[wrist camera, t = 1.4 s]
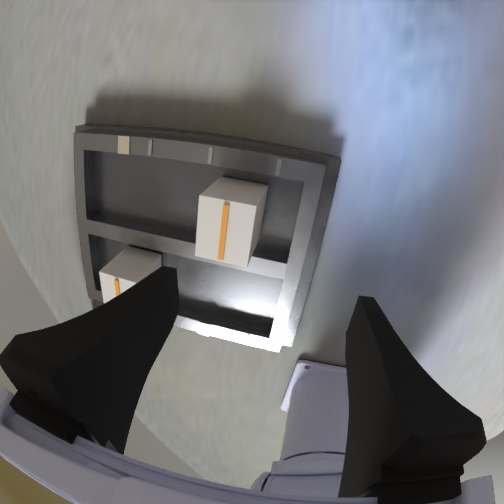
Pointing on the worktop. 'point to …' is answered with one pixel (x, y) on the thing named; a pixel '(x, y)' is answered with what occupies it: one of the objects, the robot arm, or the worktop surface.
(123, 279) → the rear fader knob
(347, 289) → the worktop surface
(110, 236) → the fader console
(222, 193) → the knob
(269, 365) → the worktop surface
